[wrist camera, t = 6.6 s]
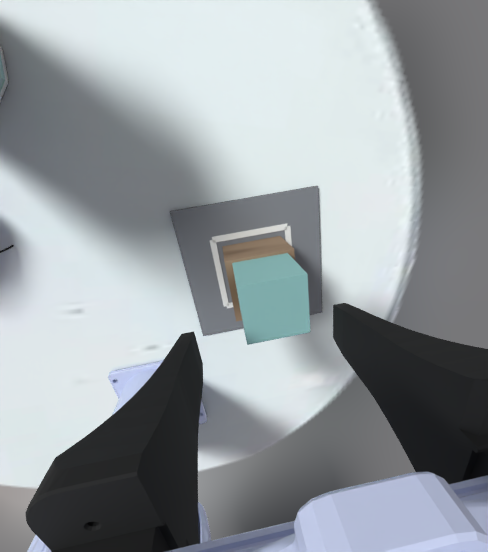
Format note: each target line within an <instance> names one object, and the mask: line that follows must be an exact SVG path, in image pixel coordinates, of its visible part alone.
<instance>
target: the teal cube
mask: <svg viewBox="0 0 488 552" xmlns="http://www.w3.org/2000/svg"><path fill="white" fill-rule="evenodd" d="M232 266H233V271H234V277H235V283H236V288H237V294H238V299H239V305H240V311H241V316H242V321H243V326H244V330H245V335H246V340H247V345H248V344H253V343H259V342H264V341H269V340H274V339H279V338H284V337H289V336H294V335H299V334H304V333H309V332H310V315H309V295H308V275H307V273H306V272H305V271H304V270H303V269H302V268H301V266H300V265H299V264H298V263H297V262H296V261H295V260H294V259H293V258H292V257H291V256H290V255H289V254H288V253H284V254H279V255H273V256H268V257H262V258H257V259H251V260H245V261H240V262H234V263H232Z"/></svg>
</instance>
